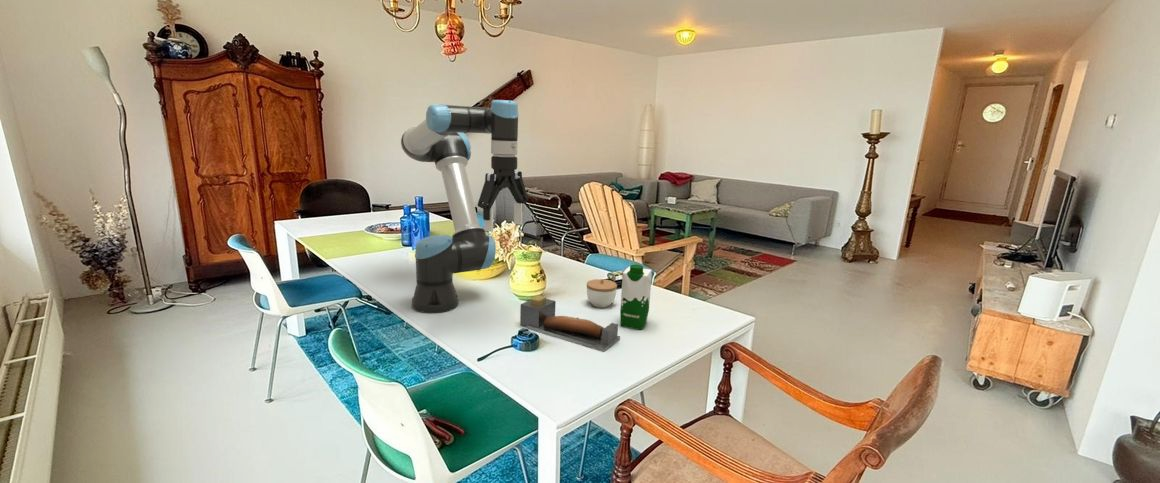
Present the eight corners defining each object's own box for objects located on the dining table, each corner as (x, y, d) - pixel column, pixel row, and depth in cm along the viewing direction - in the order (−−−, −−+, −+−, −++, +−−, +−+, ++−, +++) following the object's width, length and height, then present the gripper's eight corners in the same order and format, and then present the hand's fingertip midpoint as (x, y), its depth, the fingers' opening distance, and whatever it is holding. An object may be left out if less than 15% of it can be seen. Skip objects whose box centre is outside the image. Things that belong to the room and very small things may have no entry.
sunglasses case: (607, 327, 147) (605, 314, 142) (602, 346, 142) (599, 333, 137) (552, 318, 152) (549, 305, 147) (545, 336, 147) (541, 323, 142)
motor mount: (516, 325, 150) (517, 299, 148) (535, 315, 158) (536, 290, 156) (604, 351, 134) (605, 323, 132) (620, 339, 143) (621, 312, 141)
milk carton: (616, 327, 152) (620, 266, 147) (623, 317, 160) (627, 259, 155) (644, 331, 149) (649, 270, 144) (649, 321, 157) (654, 262, 153)
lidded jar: (614, 299, 176) (615, 275, 174) (617, 310, 165) (618, 284, 163) (585, 298, 175) (586, 274, 173) (586, 309, 165) (587, 283, 163)
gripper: (485, 158, 127) (485, 236, 132) (540, 155, 148) (538, 222, 153) (464, 156, 130) (465, 232, 135) (520, 153, 151) (519, 219, 156)
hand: (503, 227), depth 144 cm, fingers open, 13 cm apart
